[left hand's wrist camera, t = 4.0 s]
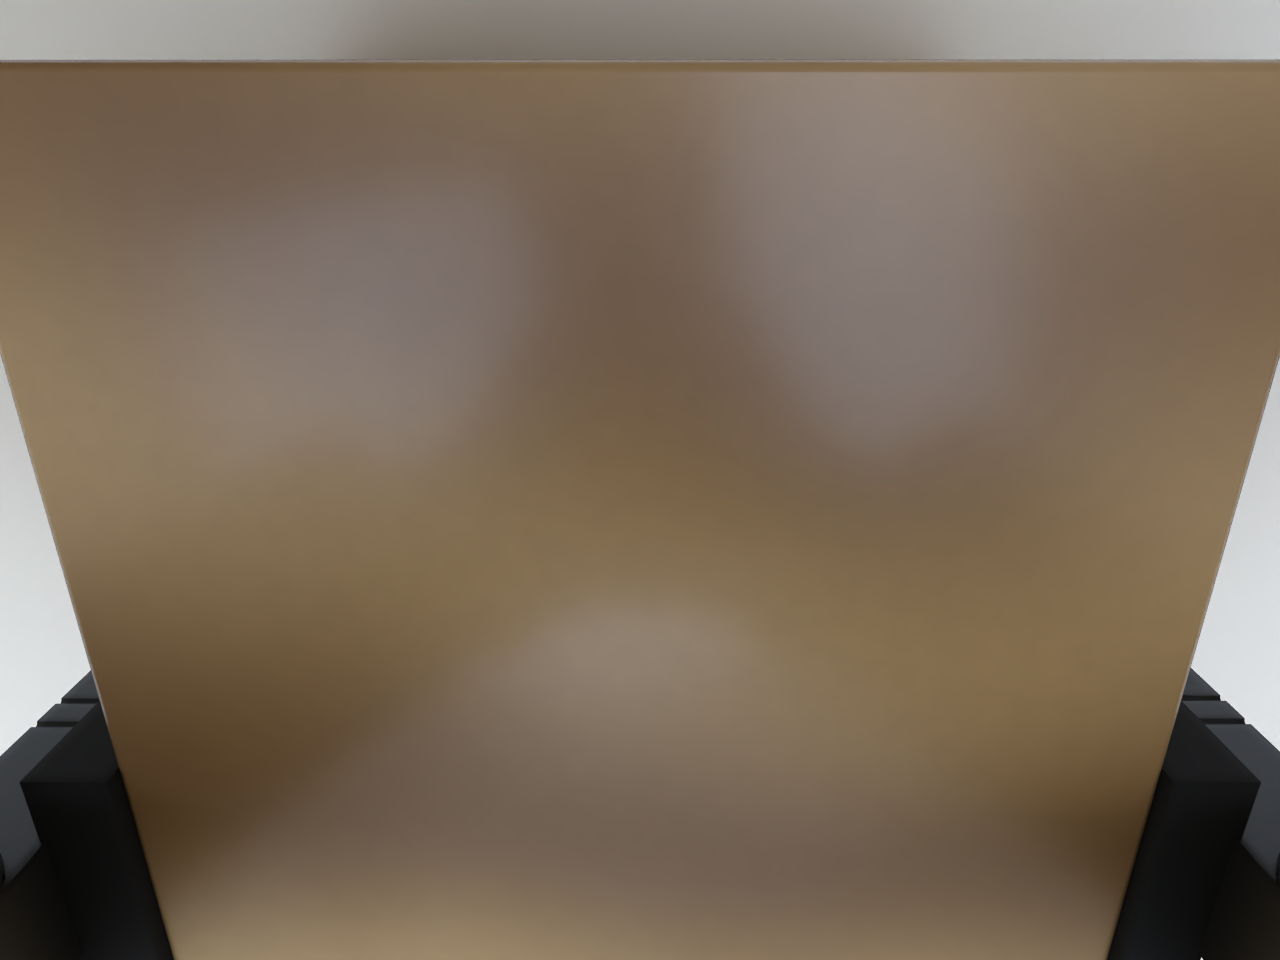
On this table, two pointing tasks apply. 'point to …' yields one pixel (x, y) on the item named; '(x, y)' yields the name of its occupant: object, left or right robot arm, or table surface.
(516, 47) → the table surface
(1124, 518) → the long beam
